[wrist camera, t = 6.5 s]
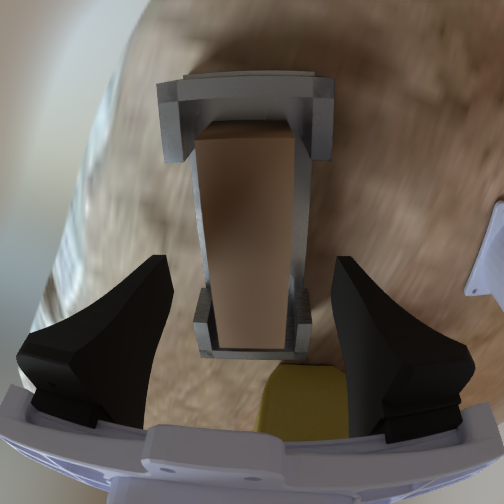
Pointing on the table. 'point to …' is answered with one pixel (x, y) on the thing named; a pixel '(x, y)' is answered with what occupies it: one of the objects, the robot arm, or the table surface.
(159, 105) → the bracket
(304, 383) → the flower pot
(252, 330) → the block
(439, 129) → the table surface
